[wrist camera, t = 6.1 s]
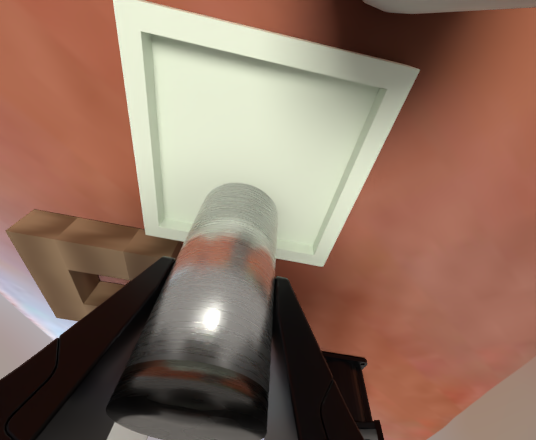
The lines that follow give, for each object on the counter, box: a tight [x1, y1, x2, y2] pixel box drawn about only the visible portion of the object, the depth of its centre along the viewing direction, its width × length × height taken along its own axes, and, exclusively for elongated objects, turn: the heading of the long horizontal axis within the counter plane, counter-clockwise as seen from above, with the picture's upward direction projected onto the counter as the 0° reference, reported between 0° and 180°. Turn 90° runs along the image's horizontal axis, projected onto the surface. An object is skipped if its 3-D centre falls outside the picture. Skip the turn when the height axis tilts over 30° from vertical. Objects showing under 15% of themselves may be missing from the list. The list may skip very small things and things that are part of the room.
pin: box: [106, 183, 278, 440], centre depth 8 cm, size 3×3×8 cm
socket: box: [6, 209, 181, 321], centre depth 22 cm, size 11×11×2 cm
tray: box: [113, 0, 420, 267], centre depth 15 cm, size 13×13×2 cm
